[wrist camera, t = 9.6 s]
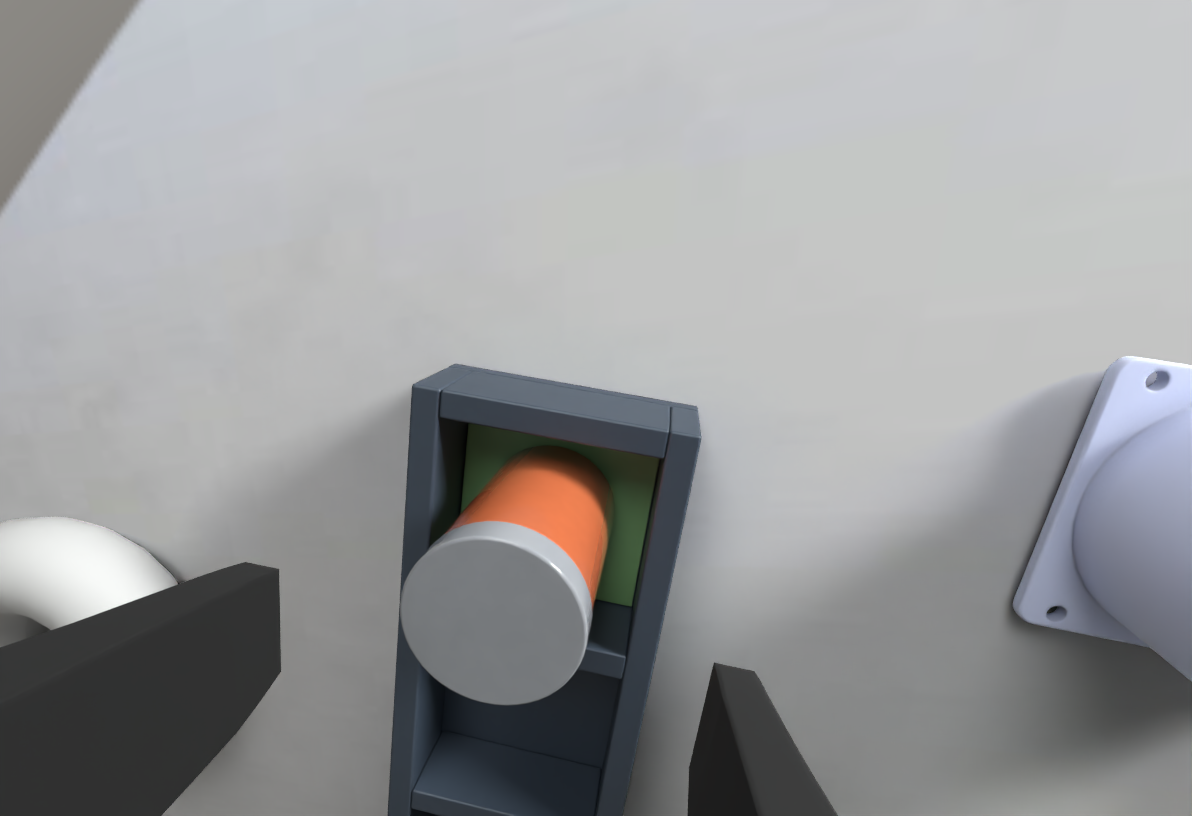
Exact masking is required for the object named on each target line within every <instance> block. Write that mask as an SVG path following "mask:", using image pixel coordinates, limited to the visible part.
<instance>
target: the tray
mask: <svg viewBox="0 0 1192 816" xmlns="http://www.w3.org/2000/svg"><path fill="white" fill-rule="evenodd" d="M700 443H701V432H700V424H699V417H698V408H697V407H696V406H692V405H686V404H680V403H675V402H669V401H663V400H658V399H652V398H646V397H641V396H635V395H629V394H624V393H618V392H612V391H607V390H601V389H595V388H590V387H584V386H578V385H573V384H567V383H561V382H556V381H550V380H544V379H539V378H533V377H527V376H522V375H516V374H510V373H505V372H499V371H493V370H488V369H482V368H476V367H470V366H465V365H459V364H453V365H451V366H449V368H446V369H444V370H442V371H440V372H438V373H436V374H434V375H432V376H430V377H427V378H425V379H423V380H421V381H419V382H417V383H415V384H413V386H412V398H411V415H410V433H409V450H408V468H407V485H406V503H405V520H404V538H403V555H402V573H401V590H400V602H401V595H402V590H403V587H404V583H405V581H406V579H407V577H408V575H409V573H410V571H411V570H412V568H413V567H414V565H415V564H416V563H417V561H418V560H419V559H420V558H421V557H422V556H423V554H424V553H425V552H426V551H427V550H428V549H429V548H430V546H431V545H432V544H433V543H434V542H435V541H436V540H438V539H439V538H440V537H441V536H442V535H443V534H444V533H445V532H446V531H447V529H448V528H449V527H450V526H451V525H452V524H453V522H454V521H455V520H456V519H457V518H458V516H459V515H460V514H461V513H462V512H463V510H464V509H465V508H466V507H467V506H468V505H469V503H470V502H471V501H472V500H473V499H474V497H475V496H476V495H477V494H478V493H479V491H480V490H481V489H482V488H483V487H484V486H485V484H486V483H487V482H488V481H489V480H490V478H491V477H492V476H493V475H494V474H495V472H496V471H497V470H498V469H499V468H500V466H501V465H502V464H503V463H504V462H505V461H506V460H507V459H509V458H510V457H511V456H513V455H514V454H516V453H518V452H520V451H522V450H524V449H527V448H531V447H535V446H542V445H551V446H559V447H563V448H567V449H570V450H573V451H575V452H577V453H579V454H581V455H583V456H584V457H586V458H587V459H589V460H590V461H591V462H592V463H594V464H595V465H596V466H597V467H598V468H599V470H600V471H601V472H602V473H603V475H604V476H605V478H606V479H607V481H608V483H609V485H610V487H611V489H612V492H613V495H614V501H615V520H614V524H613V528H612V532H611V536H610V540H609V545H608V549H607V553H606V557H605V561H604V565H603V570H602V574H601V578H600V582H599V586H598V590H597V595H596V599H595V603H594V607H593V611H592V625H591V630H590V634H589V638H588V643H587V647H586V651H585V655H584V657H583V659H582V662H581V664H580V666H579V668H578V669H577V671H576V672H575V674H574V675H573V676H572V677H571V678H570V680H569V681H568V682H567V683H566V684H565V685H563V686H562V687H561V688H560V689H559V690H557V691H556V692H554V693H552V694H551V695H549V696H547V697H545V698H543V699H540V700H538V701H534V702H531V703H527V704H521V705H509V706H504V705H492V704H487V703H482V702H478V701H475V700H471V699H469V698H466V697H464V696H462V695H459V694H458V693H456V692H454V691H452V690H450V689H448V688H447V687H446V686H444V685H443V684H441V683H440V682H438V681H437V680H436V679H435V678H434V677H433V676H431V675H430V674H429V673H428V672H427V671H426V669H425V668H424V667H423V666H422V665H421V664H420V662H419V661H418V660H417V658H416V657H415V655H414V654H413V652H412V650H411V649H410V647H409V645H408V642H407V640H406V638H405V635H404V631H403V628H402V623H401V617H400V608H399V625H398V643H397V661H396V678H395V696H394V713H393V731H392V748H391V766H390V783H389V801H388V816H623V811H624V807H625V802H626V797H627V792H628V787H629V783H630V778H631V773H632V768H633V763H634V759H635V754H636V749H637V744H638V739H639V735H640V730H641V725H642V720H643V716H644V711H645V706H646V701H647V696H648V692H649V687H650V682H651V677H652V672H653V668H654V663H655V658H656V653H657V649H658V644H659V639H660V634H661V629H662V625H663V620H664V615H665V610H666V605H667V601H668V596H669V591H670V586H671V581H672V577H673V572H674V567H675V562H676V558H677V553H678V548H679V543H680V538H681V534H682V529H683V524H684V519H685V514H686V510H687V505H688V500H689V495H690V491H691V486H692V481H693V476H694V471H695V467H696V462H697V457H698V452H699V447H700Z"/></svg>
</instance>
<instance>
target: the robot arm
mask: <svg viewBox="0 0 1192 816" xmlns="http://www.w3.org/2000/svg"><path fill="white" fill-rule="evenodd" d="M1153 372H1156V374H1157V377H1156V380H1155V382H1154V383H1153V384H1152V385H1150V386H1148V387H1147V386H1146V385H1145V384H1146V379H1147V377H1148V376H1149V375H1150V374H1151V373H1153ZM1054 606H1058V608H1057V609H1056V610H1055V611H1054V612H1052V613H1047V611H1048V610H1049V609H1050V608H1051V607H1054ZM1013 608H1014V611H1015V612H1016V613H1017V614H1018V615H1019V616H1020V617H1021V618H1022V619H1023V620H1024V621H1026V622H1028V623H1031V624H1035V625H1040V626H1045V627H1050V628H1055V629H1060V630H1065V631H1070V632H1075V633H1080V634H1085V635H1090V636H1095V637H1100V638H1105V639H1110V640H1115V641H1120V642H1125V643H1129V644H1134V645H1139V646H1144V647H1149V648H1152V649H1153V650H1154V651H1155V652H1156V653H1158V654H1159V655H1160V656H1161V657H1162V658H1164V659H1165V660H1166V661H1167V662H1168V663H1170V664H1171V665H1172V666H1173V667H1175V668H1176V669H1177V670H1178V671H1179V672H1181V673H1182V674H1183V675H1184V676H1185V677H1187V678H1188V679H1189V680H1190V681H1191V682H1192V365H1186V364H1180V363H1173V362H1167V361H1161V360H1154V359H1148V358H1141V357H1135V356H1127V357H1123V358H1120V359H1117V360H1116V361H1115V362H1113V363H1112V364H1111V365H1110V366H1109V368H1108V369H1107V371H1106V373H1105V375H1104V378H1103V380H1102V383H1101V385H1100V388H1099V390H1098V392H1097V395H1096V397H1095V400H1094V402H1093V405H1092V407H1091V410H1090V412H1089V415H1088V417H1087V420H1086V422H1085V425H1084V427H1083V430H1082V432H1081V434H1080V437H1079V439H1078V442H1077V444H1076V447H1075V449H1074V452H1073V454H1072V457H1071V459H1070V462H1069V464H1068V467H1067V469H1066V471H1065V474H1064V476H1063V479H1062V481H1061V484H1060V486H1059V489H1058V491H1057V494H1056V496H1055V499H1054V501H1053V504H1052V506H1051V509H1050V511H1049V513H1048V516H1047V518H1046V521H1045V523H1044V526H1043V528H1042V531H1041V533H1040V536H1039V538H1038V541H1037V543H1036V546H1035V548H1034V551H1033V553H1032V555H1031V558H1030V560H1029V563H1028V565H1027V568H1026V570H1025V573H1024V575H1023V578H1022V580H1021V583H1020V585H1019V588H1018V590H1017V592H1016V595H1015V597H1014V600H1013ZM280 672H281V651H280V595H279V569H276V568H271V567H266V566H262V565H257V564H252V563H248V562H244V563H240V564H237V565H233V566H230V567H227V568H224V569H220V570H217V571H215V572H212V573H209V574H206V575H203V576H200V577H197V578H194V579H192V580H189V581H186V582H183V583H180V584H178V585H175V586H172V587H169V588H167V589H164V590H161V591H159V592H156V593H153V594H150V595H148V596H145V597H142V598H140V599H137V600H134V601H131V602H129V603H126V604H123V605H120V606H118V607H115V608H112V609H109V610H107V611H104V612H101V613H98V614H96V615H93V616H90V617H88V618H85V619H82V620H79V621H76V622H74V623H71V624H68V625H65V626H62V627H59V628H56V629H53V630H50V631H47V632H44V633H41V634H38V635H35V636H32V637H29V638H27V639H24V640H21V641H18V642H15V643H12V644H9V645H6V646H3V647H0V816H161V815H162V814H163V813H164V812H165V811H166V810H167V809H168V808H169V807H170V806H171V805H172V803H173V802H174V801H175V800H176V799H177V798H178V797H179V796H180V795H181V794H182V793H183V791H184V790H185V789H186V788H187V787H188V786H189V785H190V784H191V783H192V782H193V781H194V779H195V778H196V777H197V776H198V775H199V774H200V773H201V772H202V771H203V769H204V768H205V767H206V766H207V765H208V764H209V763H210V762H211V761H212V760H213V758H214V757H215V756H216V755H217V754H218V753H219V752H220V751H221V750H222V748H223V747H224V746H225V745H226V744H227V743H228V742H229V740H230V739H231V738H232V737H233V736H234V735H235V734H236V733H237V731H238V730H239V729H240V727H241V726H242V725H243V723H244V722H245V721H246V719H247V718H248V717H249V715H250V714H251V713H252V711H253V710H254V709H255V707H256V706H257V705H258V703H259V702H260V701H261V699H262V698H263V696H264V695H265V693H266V692H267V691H268V689H269V688H270V686H271V685H272V683H273V682H274V681H275V679H276V678H277V676H278V675H279V673H280ZM688 816H838V815H837V813H836V812H835V810H834V808H833V807H832V805H831V804H830V802H829V800H828V799H827V797H826V795H825V794H824V792H823V790H822V789H821V787H820V786H819V784H818V782H817V781H816V779H815V777H814V776H813V774H812V772H811V771H810V769H809V767H808V766H807V764H806V762H805V760H804V759H803V757H802V755H801V754H800V752H799V750H798V748H797V747H796V745H795V743H794V741H793V740H792V738H791V736H790V734H789V732H788V731H787V729H786V727H785V725H784V724H783V722H782V720H781V718H780V716H779V714H778V713H777V711H776V709H775V707H774V705H773V703H772V701H771V700H770V698H769V696H768V694H767V692H766V690H765V688H764V687H763V685H762V683H761V681H760V679H759V678H758V676H757V675H756V673H755V672H754V671H751V670H746V669H741V668H737V667H732V666H727V665H723V664H718V663H714V665H713V669H712V673H711V677H710V682H709V686H708V690H707V694H706V699H705V703H704V707H703V711H702V716H701V720H700V724H699V728H698V733H697V737H696V741H695V745H694V749H693V754H692V758H691V762H690V766H689V791H688Z"/></svg>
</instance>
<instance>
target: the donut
mask: <svg viewBox="0 0 1192 816" xmlns="http://www.w3.org/2000/svg"><path fill="white" fill-rule="evenodd" d="M175 585H178V583H177V581H176V580H175V578H174V577H173V575H172V574H171V573H170V572H169V571H168V570H167V569H166V568H164V567H163V566H162V565H161V564H160V563H159V562H158V561H157V560H156V559H155V558H154V557H153V556H152V555H151V554H150V553H149V552H148V551H147V550H146V549H144V548H142V547H141V546H139V545H137V544H135V543H134V542H132V541H130V540H128V539H127V538H125V537H123V536H122V535H120V534H118V533H116V532H115V531H113V530H111V529H108V528H106V527H103V526H99V525H96V524H92V523H88V522H85V521H81V520H77V519H74V518H70V517H35V518H17V519H13V520H9V521H5V522H1V523H0V647H3V646H6V645H9V644H12V643H15V642H18V641H21V640H24V639H27V638H29V637H32V636H35V635H38V634H41V633H44V632H47V631H50V630H53V629H56V628H59V627H62V626H65V625H68V624H71V623H74V622H76V621H79V620H82V619H85V618H88V617H90V616H93V615H96V614H98V613H101V612H104V611H107V610H109V609H112V608H115V607H118V606H120V605H123V604H126V603H129V602H131V601H134V600H137V599H140V598H142V597H145V596H148V595H150V594H153V593H156V592H159V591H161V590H164V589H167V588H169V587H172V586H175Z"/></svg>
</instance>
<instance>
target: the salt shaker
mask: <svg viewBox="0 0 1192 816" xmlns="http://www.w3.org/2000/svg"><path fill="white" fill-rule="evenodd" d="M614 520H615V501H614V495H613V492H612V489H611V487H610V485H609V483H608V481H607V479H606V478H605V476H604V475H603V473H602V472H601V471H600V470H599V468H598V467H597V466H596V465H595V464H594V463H592V462H591V461H590V460H589V459H587V458H586V457H584V456H583V455H581V454H579V453H577V452H575V451H573V450H570V449H567V448H563V447H559V446H551V445H542V446H535V447H531V448H527V449H524V450H522V451H520V452H518V453H516V454H514V455H513V456H511V457H510V458H509V459H507V460H506V461H505V462H504V463H503V464H502V465H501V466H500V468H499V469H498V470H497V471H496V472H495V474H494V475H493V476H492V477H491V478H490V480H489V481H488V482H487V483H486V484H485V486H484V487H483V488H482V489H481V490H480V491H479V493H478V494H477V495H476V496H475V497H474V499H473V500H472V501H471V502H470V503H469V505H468V506H467V507H466V508H465V509H464V510H463V512H462V513H461V514H460V515H459V516H458V518H457V519H456V520H455V521H454V522H453V524H452V525H451V526H450V527H449V528H448V529H447V531H446V532H445V533H444V534H443V535H442V536H441V537H440V538H439V539H438V540H436V541H435V542H434V543H433V544H432V545H431V546H430V548H429V549H428V550H427V551H426V552H425V553H424V554H423V556H422V557H421V558H420V559H419V560H418V561H417V563H416V564H415V565H414V567H413V568H412V570H411V571H410V573H409V575H408V577H407V579H406V581H405V583H404V587H403V590H402V595H401V602H400V617H401V623H402V628H403V631H404V635H405V638H406V640H407V642H408V645H409V647H410V649H411V650H412V652H413V654H414V655H415V657H416V658H417V660H418V661H419V662H420V664H421V665H422V666H423V667H424V668H425V669H426V671H427V672H428V673H429V674H430V675H431V676H433V677H434V678H435V679H436V680H437V681H438V682H440V683H441V684H443V685H444V686H446V687H447V688H448V689H450V690H452V691H454V692H456V693H458V694H459V695H462V696H464V697H466V698H469V699H471V700H475V701H478V702H482V703H487V704H492V705H504V706H509V705H521V704H527V703H531V702H534V701H538V700H540V699H543V698H545V697H547V696H549V695H551V694H552V693H554V692H556V691H557V690H559V689H560V688H561V687H562V686H563V685H565V684H566V683H567V682H568V681H569V680H570V678H571V677H572V676H573V675H574V674H575V672H576V671H577V669H578V668H579V666H580V664H581V662H582V659H583V657H584V655H585V651H586V647H587V643H588V638H589V634H590V630H591V625H592V611H593V607H594V603H595V599H596V595H597V590H598V586H599V582H600V578H601V574H602V570H603V565H604V561H605V557H606V553H607V549H608V545H609V540H610V536H611V532H612V528H613V524H614Z"/></svg>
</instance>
